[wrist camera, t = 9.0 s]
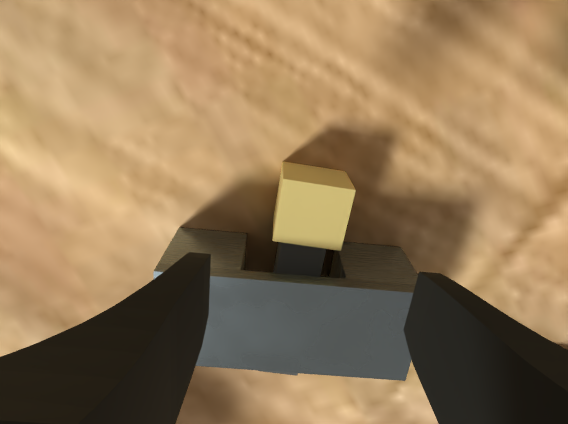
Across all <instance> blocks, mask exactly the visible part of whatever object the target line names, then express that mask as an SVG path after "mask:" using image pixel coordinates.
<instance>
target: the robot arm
mask: <svg viewBox="0 0 568 424" xmlns="http://www.w3.org/2000/svg"><path fill="white" fill-rule="evenodd" d="M210 265H211V254H206V253H194V252H189V253H187V254H186V255H185V256H183V257H182V258H181V259H179V260H178V261H177V262H175V263H174V264H173V265H172V266H170V267H169V268H168V269H167V270H165V271H164V272H163V273H162V274H160V275H159V276H158V277H156V278H155V279H154V280H152V281H151V282H149V283H148V284H147V285H145V286H144V287H142V288H141V289H139V290H138V291H136V292H135V293H133V294H132V295H130V296H129V297H127V298H126V299H124V300H123V301H121V302H120V303H118V304H116V305H115V306H113V307H111V308H109V309H108V310H106V311H104V312H102V313H100V314H99V315H97V316H95V317H93V318H91V319H89V320H87V321H85V322H83V323H81V324H79V325H77V326H75V327H73V328H70V329H68V330H66V331H64V332H61V333H59V334H57V335H55V336H52V337H50V338H48V339H46V340H43V341H41V342H39V343H36V344H34V345H31V346H29V347H26V348H23V349H21V350H18V351H16V352H13V353H10V354H7V355H4V356H2V357H0V424H176V420H177V417H178V414H179V412H180V409H181V406H182V403H183V400H184V397H185V394H186V391H187V388H188V386H189V383H190V380H191V377H192V374H193V371H194V368H195V365H196V362H197V359H198V357H199V354H200V351H201V348H202V344H203V339H204V335H205V330H206V325H207V320H208V315H209V293H210ZM403 330H404V334H405V338H406V342H407V346H408V349H409V353H410V356H411V359H412V362H413V365H414V367H415V370H416V372H417V374H418V377H419V379H420V382H421V384H422V386H423V389H424V391H425V393H426V395H427V398H428V400H429V402H430V405H431V407H432V409H433V411H434V414H435V416H436V418H437V421H438V423H439V424H568V350H566V349H564V348H562V347H560V346H559V345H557V344H555V343H553V342H551V341H550V340H548V339H546V338H544V337H542V336H541V335H539V334H537V333H536V332H534V331H532V330H531V329H529V328H527V327H526V326H524V325H522V324H520V323H519V322H517V321H516V320H514V319H512V318H511V317H509V316H508V315H506V314H504V313H503V312H501V311H500V310H498V309H497V308H495V307H493V306H492V305H490V304H489V303H487V302H486V301H484V300H483V299H481V298H480V297H478V296H477V295H475V294H473V293H472V292H470V291H469V290H467V289H466V288H464V287H463V286H461V285H459V284H458V283H456V282H455V281H453V280H451V279H450V278H448V277H446V276H444V275H442V274H439V273H428V272H419V274H418V278H417V281H416V285H415V289H414V292H413V296H412V300H411V303H410V307H409V311H408V315H407V318H406V322H405V326H404V329H403Z"/></svg>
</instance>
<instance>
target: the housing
mask: <svg viewBox="0 0 568 424" xmlns="http://www.w3.org/2000/svg"><path fill="white" fill-rule="evenodd" d="M246 240H247V233H237V232H226V231H214V230H203V229H192V228H181V227H179V229H178V230H177V232H176V234H175V236H174V237H173V239H172V241H171V242H170V244H169V246H168V248H167V249H166V251H165V253H164V254H163V256H162V258H161V260H160V261H159V263H158V265H157V266H156V268H155V270H154V279H155V278H156V277H158V276H159V275H160V274H162V273H163V272H164V271H165V270H167V269H168V268H169V267H170V266H172V265H173V264H174V263H175V262H177V261H178V260H179V259H181V258H182V257H183V256H185V255H186V254H187V253H189V252H194V253H206V254H211V265H210V293H209V315H208V320H207V325H206V330H205V335H204V339H203V344H202V348H201V351H200V354H199V357H198V359H197V362H196V365H195V366H206V367H220V368H234V369H248V370H262V371H276V372H290V373H304V374H318V375H332V376H346V377H360V378H374V379H388V380H402V381H405V380H406V376H407V373H408V370H409V366H410V363H411V356H410V353H409V349H408V346H407V342H406V338H405V334H404V330H403V329H404V326H405V322H406V318H407V315H408V311H409V307H410V303H411V300H412V296H413V292H414V289H415V285H416V281H417V278H418V274H417V272H416V271H415V269H414V268H413V266H412V264H411V263H410V261H409V260H408V258H407V256H406V255H405V253H404V252H403V250H402V249H401V247H395V246H384V245H372V244H361V243H350V242H343V244H342V248H341V251H338V250H334V253H333V258H332V264H331V270H330V276H329V277H319V276H307V275H295V274H283V273H271V272H259V271H247V270H244V267H245V253H246Z"/></svg>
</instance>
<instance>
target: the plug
mask: <svg viewBox="0 0 568 424" xmlns="http://www.w3.org/2000/svg"><path fill="white" fill-rule="evenodd" d="M355 192H356V190H355V188H354V186H353V184H352V182H351V181H350V179H349V177H348V175H347V174H346V172H345V171H341V170H335V169H328V168H322V167H316V166H309V165H303V164H297V163H290V162H284V161H283V162H282V168H281V174H280V180H279V186H278V192H277V198H276V204H275V210H274V216H273V239H272V241H276V242H278V247H277V253H276V259H275V264H274V270H273V273H283V274H295V275H307V276H319V277H320V275H321V271H322V266H323V262H324V258H325V253H326V249H331V250H338V251H341V248H342V244H343V240H344V236H345V232H346V228H347V224H348V220H349V216H350V212H351V208H352V204H353V200H354V196H355ZM258 371H262V370H258ZM264 372H272V373H280V374H289V375H297V374H298V373H290V372H276V371H264Z"/></svg>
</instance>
